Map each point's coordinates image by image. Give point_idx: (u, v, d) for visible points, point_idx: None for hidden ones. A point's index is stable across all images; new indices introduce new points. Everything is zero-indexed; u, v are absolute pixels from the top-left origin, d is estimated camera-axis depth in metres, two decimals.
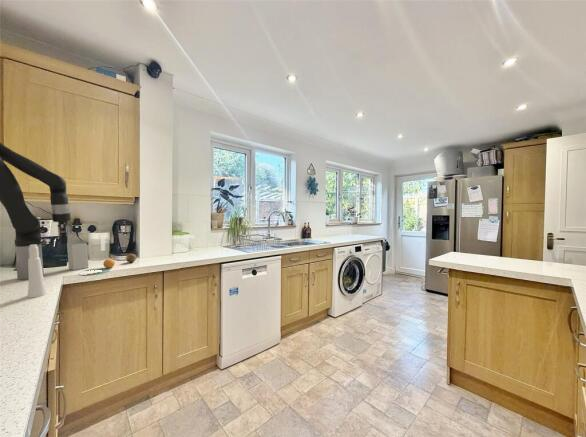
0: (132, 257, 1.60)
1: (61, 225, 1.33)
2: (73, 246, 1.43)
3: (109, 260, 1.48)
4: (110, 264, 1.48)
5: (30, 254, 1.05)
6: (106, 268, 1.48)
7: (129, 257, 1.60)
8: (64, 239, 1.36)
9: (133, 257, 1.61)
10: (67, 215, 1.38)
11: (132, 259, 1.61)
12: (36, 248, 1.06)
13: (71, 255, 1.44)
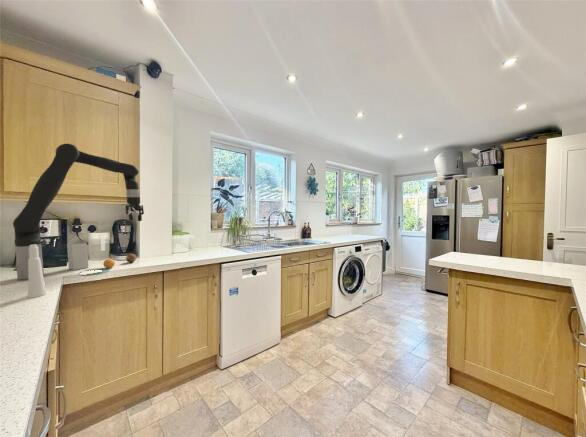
0: (132, 257, 1.60)
1: (140, 206, 1.62)
2: (73, 246, 1.43)
3: (109, 260, 1.48)
4: (110, 264, 1.48)
5: (30, 254, 1.05)
6: (106, 268, 1.48)
7: (129, 257, 1.60)
8: (140, 218, 1.64)
9: (133, 257, 1.61)
10: (139, 198, 1.66)
11: (132, 259, 1.61)
12: (36, 248, 1.06)
13: (71, 255, 1.44)
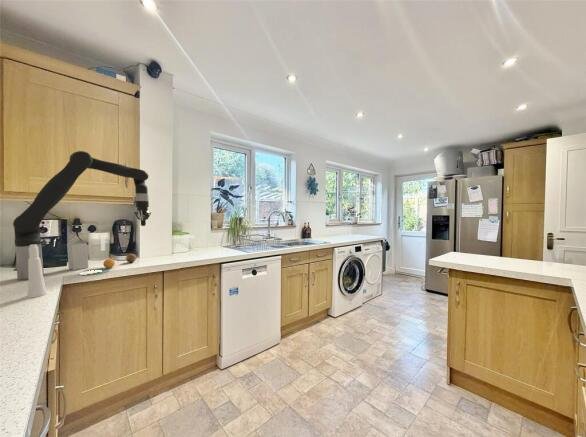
0: (132, 257, 1.60)
1: (149, 213, 1.67)
2: (73, 246, 1.43)
3: (109, 260, 1.48)
4: (110, 264, 1.48)
5: (30, 254, 1.05)
6: (106, 268, 1.48)
7: (129, 257, 1.60)
8: (144, 223, 1.70)
9: (133, 257, 1.61)
10: (148, 202, 1.70)
11: (132, 259, 1.61)
12: (36, 248, 1.06)
13: (71, 255, 1.44)
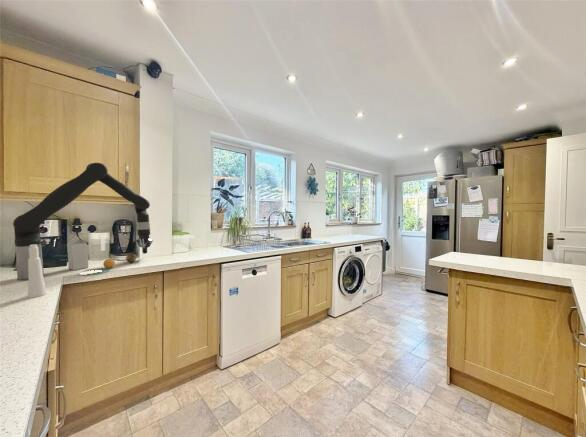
0: (132, 257, 1.60)
1: (150, 241, 1.69)
2: (73, 246, 1.43)
3: (109, 260, 1.48)
4: (110, 264, 1.48)
5: (30, 254, 1.05)
6: (106, 268, 1.48)
7: (129, 257, 1.60)
8: (146, 250, 1.71)
9: (133, 257, 1.61)
10: None
11: (132, 259, 1.61)
12: (36, 248, 1.06)
13: (71, 255, 1.44)
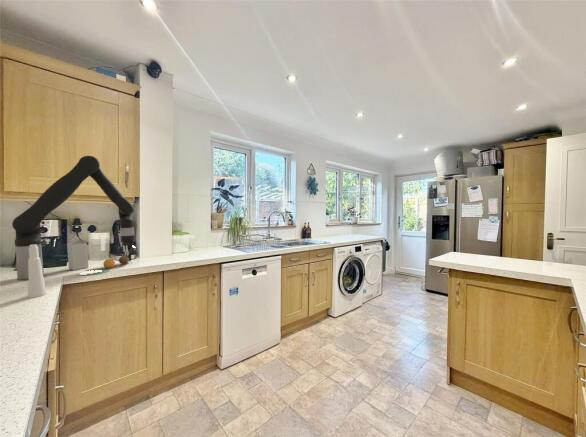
0: (126, 262, 1.56)
1: (134, 249, 1.59)
2: (73, 246, 1.43)
3: (109, 260, 1.48)
4: (110, 264, 1.48)
5: (30, 254, 1.05)
6: (106, 268, 1.48)
7: (124, 263, 1.56)
8: (130, 258, 1.61)
9: (126, 261, 1.56)
10: (134, 236, 1.62)
11: (127, 261, 1.58)
12: (36, 248, 1.06)
13: (71, 255, 1.44)
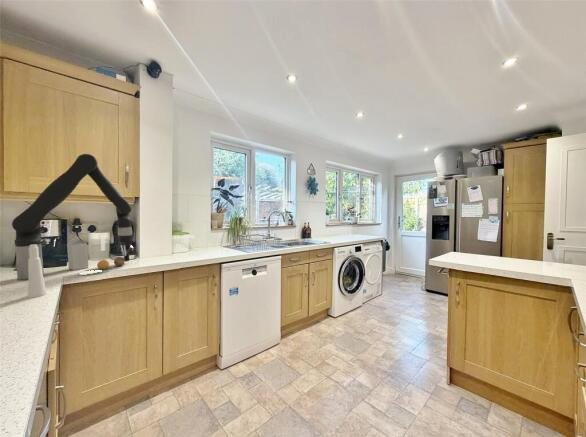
0: (123, 263, 1.55)
1: (132, 248, 1.57)
2: (73, 246, 1.43)
3: (101, 266, 1.43)
4: (106, 266, 1.45)
5: (30, 254, 1.05)
6: None
7: None
8: (128, 258, 1.59)
9: (122, 263, 1.54)
10: None
11: (124, 261, 1.55)
12: (36, 248, 1.06)
13: (71, 255, 1.44)
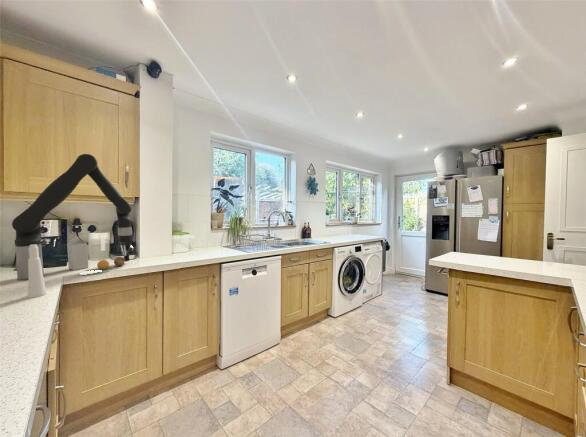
0: (123, 263, 1.55)
1: (132, 248, 1.57)
2: (73, 246, 1.43)
3: (101, 266, 1.43)
4: (106, 266, 1.45)
5: (30, 254, 1.05)
6: None
7: None
8: (128, 258, 1.59)
9: (122, 263, 1.54)
10: None
11: (124, 261, 1.55)
12: (36, 248, 1.06)
13: (71, 255, 1.44)
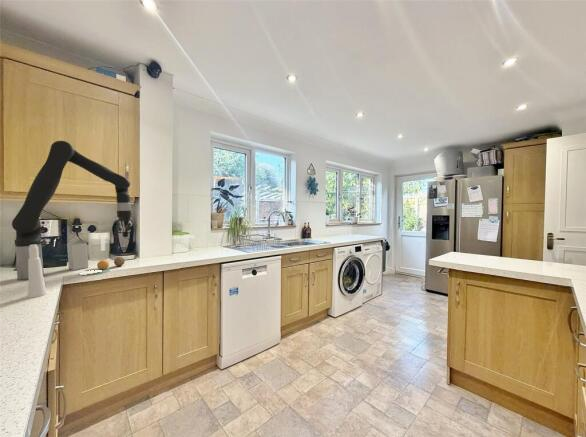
0: (123, 263, 1.55)
1: (131, 224, 1.55)
2: (73, 246, 1.43)
3: (101, 266, 1.43)
4: (106, 266, 1.45)
5: (30, 254, 1.05)
6: None
7: None
8: (127, 234, 1.58)
9: (122, 263, 1.54)
10: None
11: (124, 261, 1.55)
12: (36, 248, 1.06)
13: (71, 255, 1.44)
